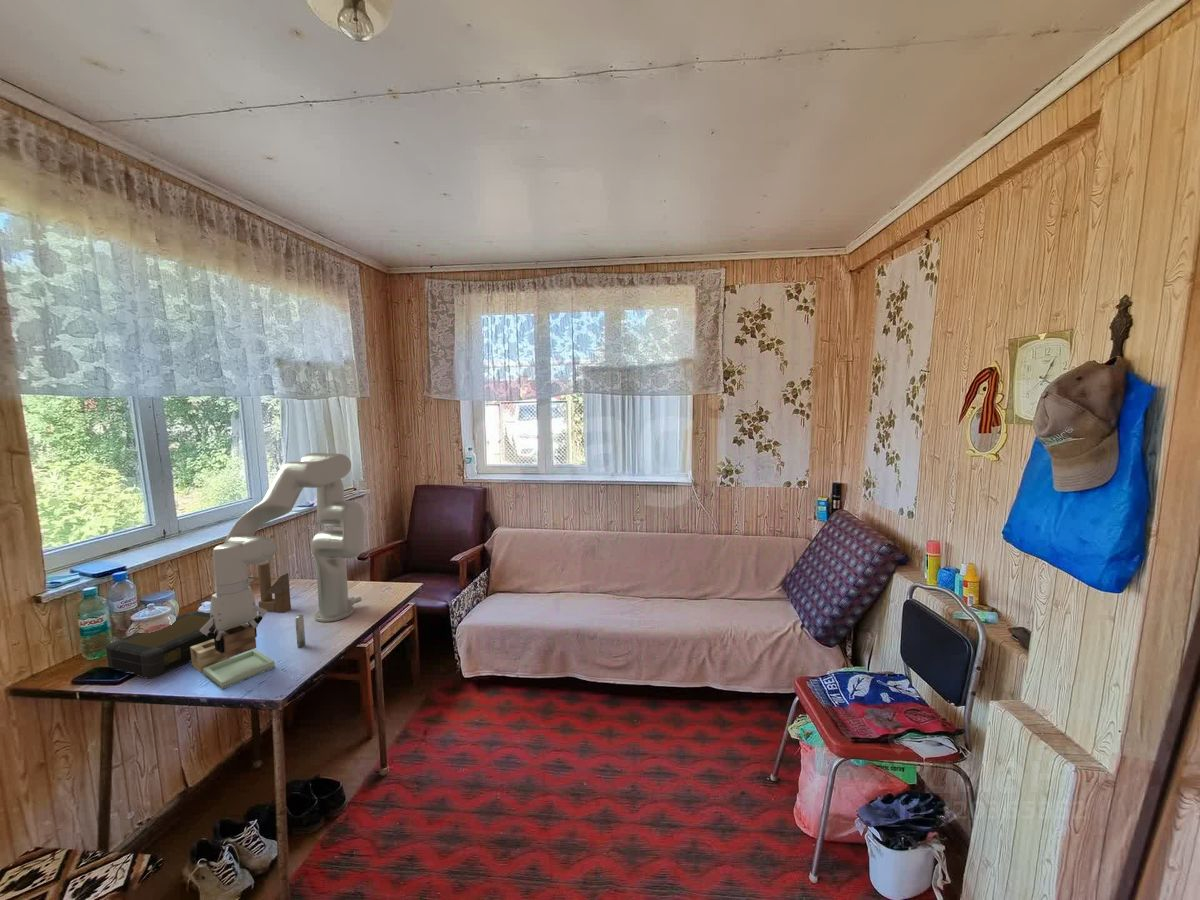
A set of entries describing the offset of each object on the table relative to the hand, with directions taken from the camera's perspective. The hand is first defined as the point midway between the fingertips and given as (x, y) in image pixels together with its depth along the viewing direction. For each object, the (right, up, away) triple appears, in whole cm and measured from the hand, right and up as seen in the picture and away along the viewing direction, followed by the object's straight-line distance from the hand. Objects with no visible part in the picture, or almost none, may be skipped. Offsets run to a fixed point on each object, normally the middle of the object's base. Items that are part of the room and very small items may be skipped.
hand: (236, 645), depth 140 cm
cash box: (-28, -7, +12) cm, 31 cm away
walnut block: (0, -1, 0) cm, 1 cm away
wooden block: (-17, -4, +42) cm, 46 cm away
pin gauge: (+9, -6, +15) cm, 19 cm away
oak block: (-12, -8, +5) cm, 15 cm away
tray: (0, -8, +1) cm, 8 cm away
